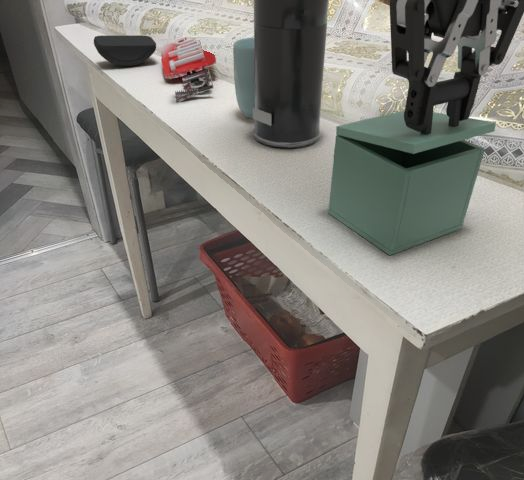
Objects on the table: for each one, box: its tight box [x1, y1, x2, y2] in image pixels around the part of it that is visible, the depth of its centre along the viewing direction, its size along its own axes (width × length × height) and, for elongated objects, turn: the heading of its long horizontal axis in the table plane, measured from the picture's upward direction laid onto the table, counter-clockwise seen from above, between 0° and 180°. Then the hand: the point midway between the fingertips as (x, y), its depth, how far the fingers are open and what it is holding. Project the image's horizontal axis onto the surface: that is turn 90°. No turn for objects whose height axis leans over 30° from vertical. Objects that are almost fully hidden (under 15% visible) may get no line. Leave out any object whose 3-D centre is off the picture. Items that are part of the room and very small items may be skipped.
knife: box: [190, 68, 209, 88], centre depth 94 cm, size 17×2×5 cm
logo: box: [160, 36, 217, 103], centre depth 93 cm, size 25×2×10 cm
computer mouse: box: [93, 34, 157, 67], centre depth 101 cm, size 6×11×4 cm, turn 112°
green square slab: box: [335, 77, 497, 154], centre depth 49 cm, size 11×10×5 cm
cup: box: [232, 36, 255, 120], centre depth 77 cm, size 8×8×10 cm
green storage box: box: [328, 134, 486, 256], centre depth 54 cm, size 10×10×9 cm
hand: (436, 122), depth 47 cm, fingers closed on green square slab, 4 cm apart
